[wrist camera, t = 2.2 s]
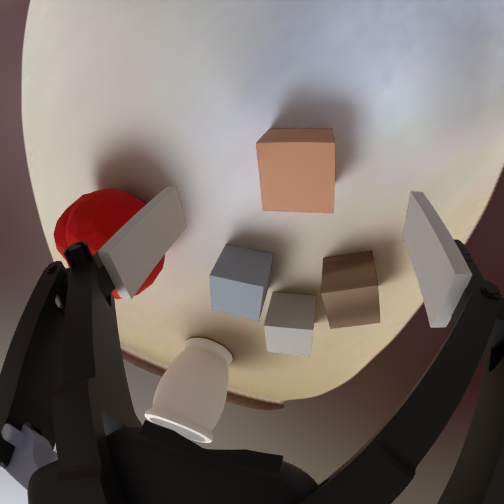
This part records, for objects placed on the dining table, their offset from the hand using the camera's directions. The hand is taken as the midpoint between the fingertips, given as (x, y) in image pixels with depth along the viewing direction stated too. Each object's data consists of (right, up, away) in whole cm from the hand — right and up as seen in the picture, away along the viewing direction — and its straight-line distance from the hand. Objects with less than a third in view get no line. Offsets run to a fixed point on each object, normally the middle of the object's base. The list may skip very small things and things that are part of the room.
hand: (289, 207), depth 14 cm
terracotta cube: (+2, +5, +7) cm, 9 cm away
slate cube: (-2, -4, +15) cm, 16 cm away
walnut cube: (+8, -5, +13) cm, 16 cm away
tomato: (-16, +2, +15) cm, 22 cm away
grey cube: (+3, -9, +18) cm, 20 cm away
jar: (-9, -19, +29) cm, 36 cm away
